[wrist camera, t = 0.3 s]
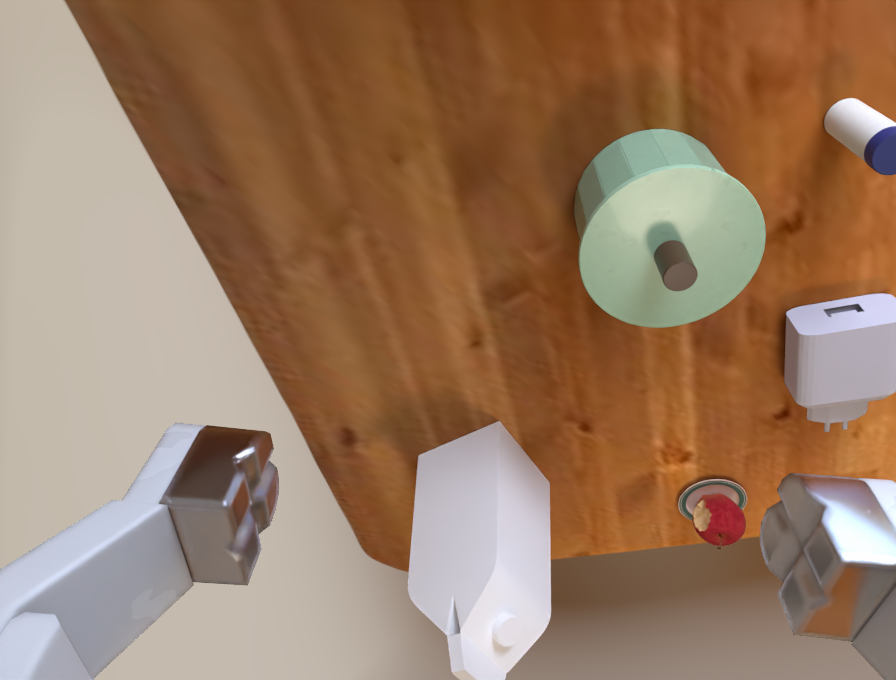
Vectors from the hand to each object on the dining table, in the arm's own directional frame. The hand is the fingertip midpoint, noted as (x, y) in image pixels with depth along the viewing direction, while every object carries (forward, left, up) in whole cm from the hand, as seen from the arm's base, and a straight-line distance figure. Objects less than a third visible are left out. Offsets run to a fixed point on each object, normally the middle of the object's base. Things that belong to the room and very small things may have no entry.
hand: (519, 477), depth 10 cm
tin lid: (+15, +13, -37) cm, 42 cm away
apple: (+53, +29, -47) cm, 76 cm away
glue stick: (+7, +27, -47) cm, 55 cm away
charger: (+31, +35, -47) cm, 66 cm away
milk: (+51, +1, -47) cm, 69 cm away
